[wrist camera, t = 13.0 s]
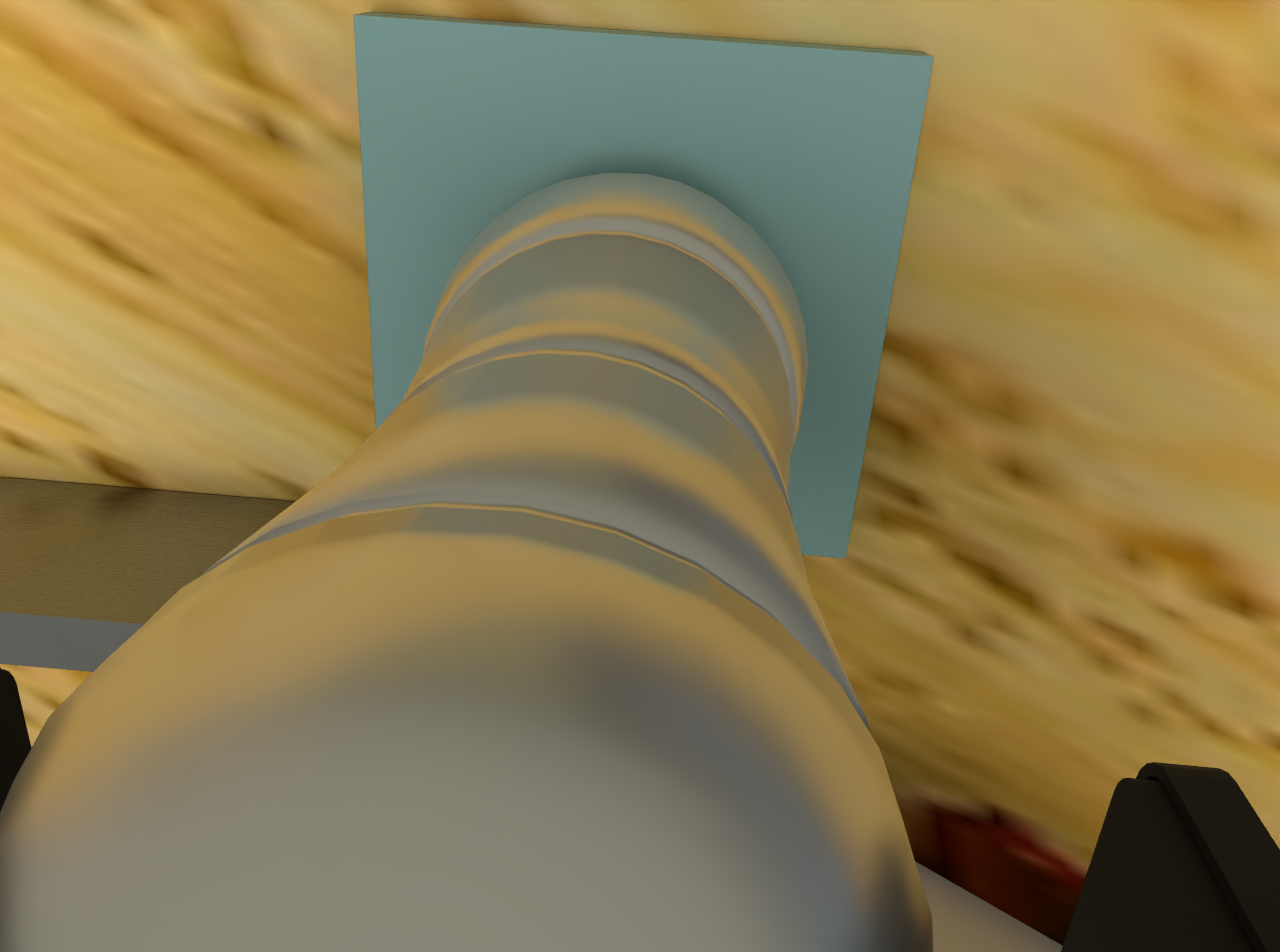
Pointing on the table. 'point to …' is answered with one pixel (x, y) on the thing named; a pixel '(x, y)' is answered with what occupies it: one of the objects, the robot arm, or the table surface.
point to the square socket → (103, 562)
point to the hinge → (975, 922)
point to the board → (657, 145)
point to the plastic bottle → (502, 652)
